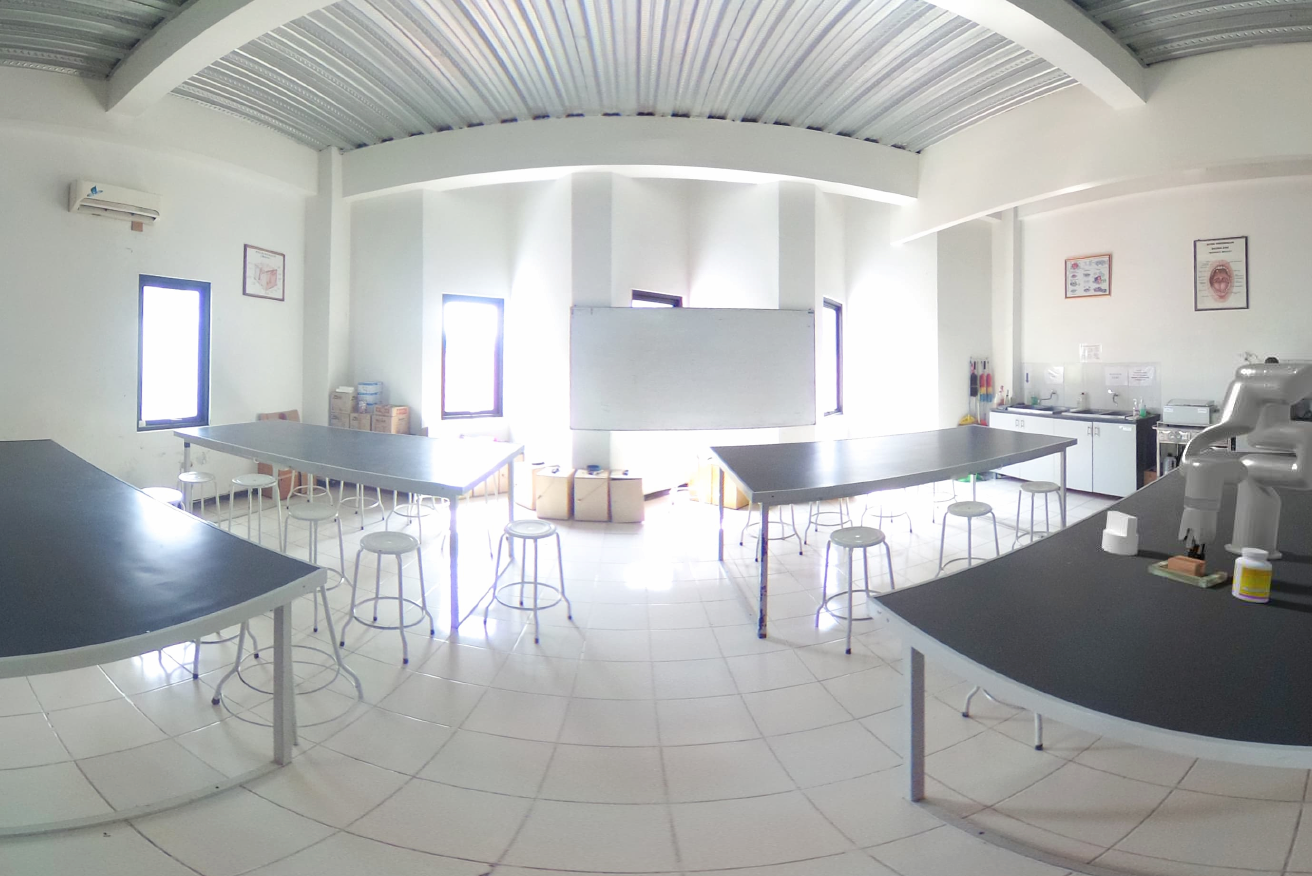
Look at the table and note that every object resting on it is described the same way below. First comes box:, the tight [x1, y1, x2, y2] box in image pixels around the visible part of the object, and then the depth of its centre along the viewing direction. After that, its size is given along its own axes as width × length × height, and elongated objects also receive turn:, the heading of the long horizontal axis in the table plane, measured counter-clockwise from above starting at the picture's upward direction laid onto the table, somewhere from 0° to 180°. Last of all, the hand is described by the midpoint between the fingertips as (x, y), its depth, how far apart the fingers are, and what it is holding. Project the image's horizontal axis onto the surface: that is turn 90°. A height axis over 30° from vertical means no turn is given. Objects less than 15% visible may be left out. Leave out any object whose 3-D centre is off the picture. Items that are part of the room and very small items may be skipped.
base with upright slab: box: [1101, 510, 1140, 556], centre depth 186 cm, size 9×9×12 cm
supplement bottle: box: [1231, 548, 1273, 604], centre depth 148 cm, size 7×7×13 cm
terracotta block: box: [1167, 554, 1207, 578], centre depth 164 cm, size 6×6×5 cm
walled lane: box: [1147, 559, 1228, 588], centre depth 164 cm, size 12×13×2 cm
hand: (1195, 565), depth 166 cm, fingers closed
